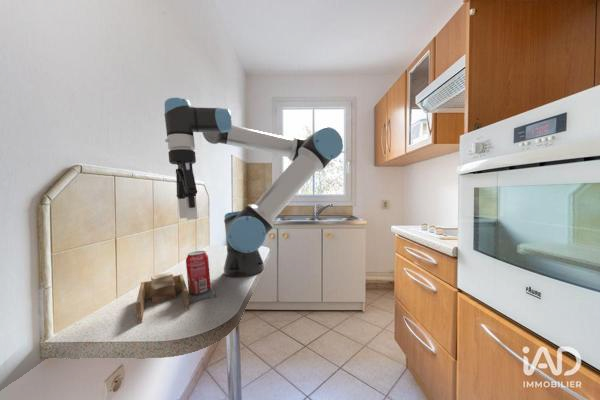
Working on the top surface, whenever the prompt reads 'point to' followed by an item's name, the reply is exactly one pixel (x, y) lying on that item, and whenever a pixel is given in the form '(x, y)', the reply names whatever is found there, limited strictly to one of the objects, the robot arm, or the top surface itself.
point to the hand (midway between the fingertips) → (188, 218)
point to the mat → (200, 296)
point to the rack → (146, 293)
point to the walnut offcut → (163, 293)
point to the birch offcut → (162, 280)
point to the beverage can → (198, 272)
